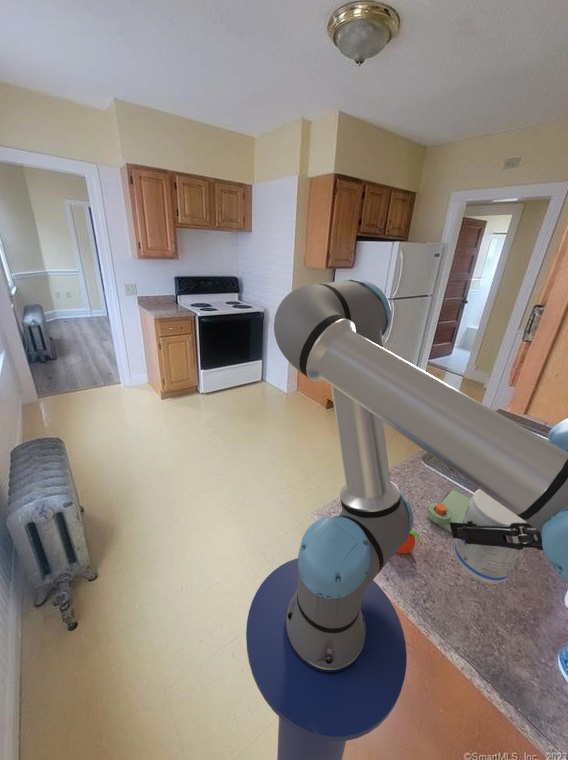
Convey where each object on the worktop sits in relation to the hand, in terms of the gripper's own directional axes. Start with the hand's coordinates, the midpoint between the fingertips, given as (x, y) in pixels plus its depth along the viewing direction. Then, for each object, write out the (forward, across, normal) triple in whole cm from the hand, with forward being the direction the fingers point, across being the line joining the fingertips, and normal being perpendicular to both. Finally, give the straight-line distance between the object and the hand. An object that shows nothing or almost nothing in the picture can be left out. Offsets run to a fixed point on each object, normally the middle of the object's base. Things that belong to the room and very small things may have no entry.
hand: (476, 527), depth 63 cm
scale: (+25, +17, -2) cm, 31 cm away
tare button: (+25, +8, +2) cm, 26 cm away
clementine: (+22, -6, -6) cm, 24 cm away
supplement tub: (+2, 0, -6) cm, 7 cm away
